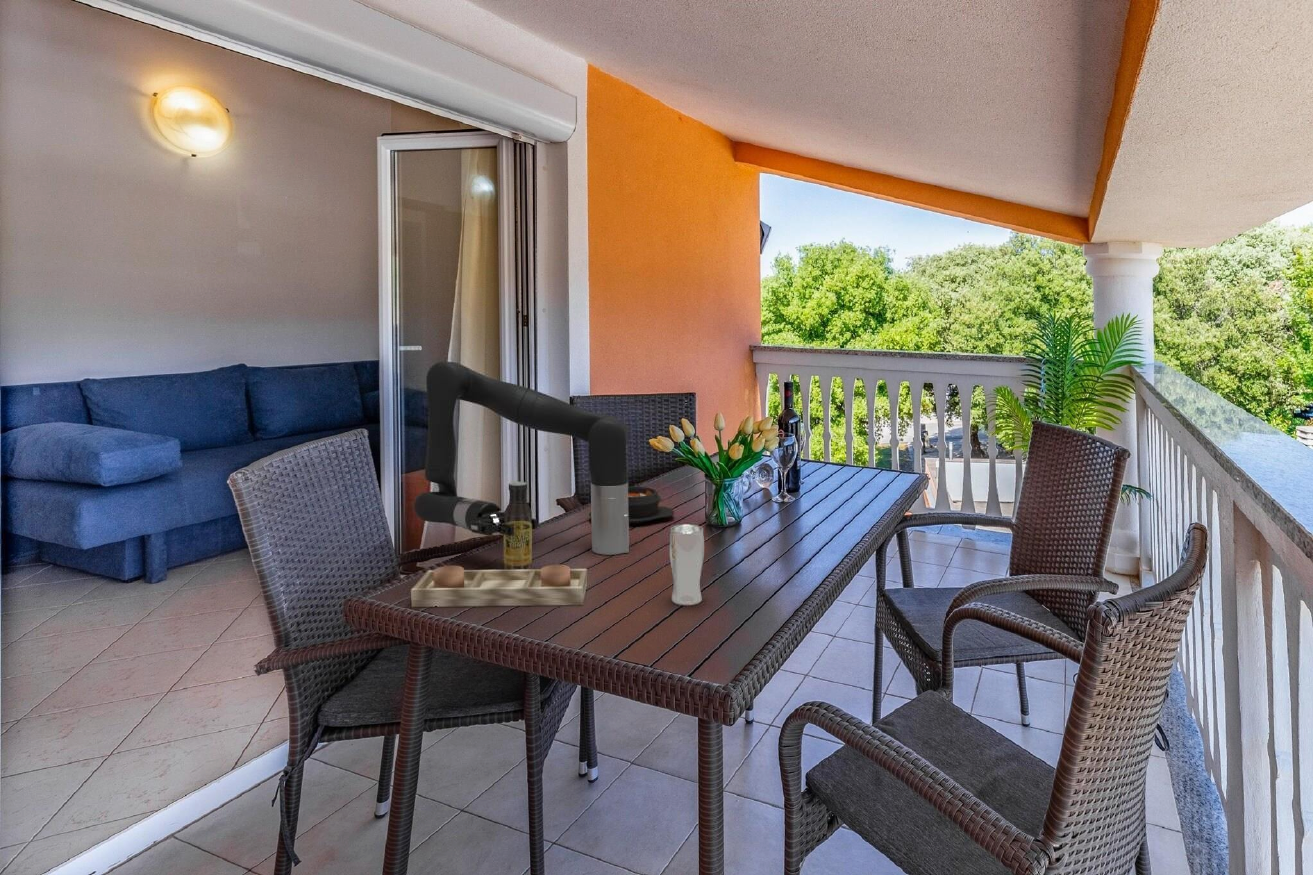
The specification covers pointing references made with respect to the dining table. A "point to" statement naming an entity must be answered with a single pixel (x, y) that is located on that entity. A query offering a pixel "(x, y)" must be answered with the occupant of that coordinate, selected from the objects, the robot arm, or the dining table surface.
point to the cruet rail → (500, 587)
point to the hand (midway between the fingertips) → (524, 527)
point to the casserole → (645, 505)
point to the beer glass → (686, 563)
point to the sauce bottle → (518, 529)
